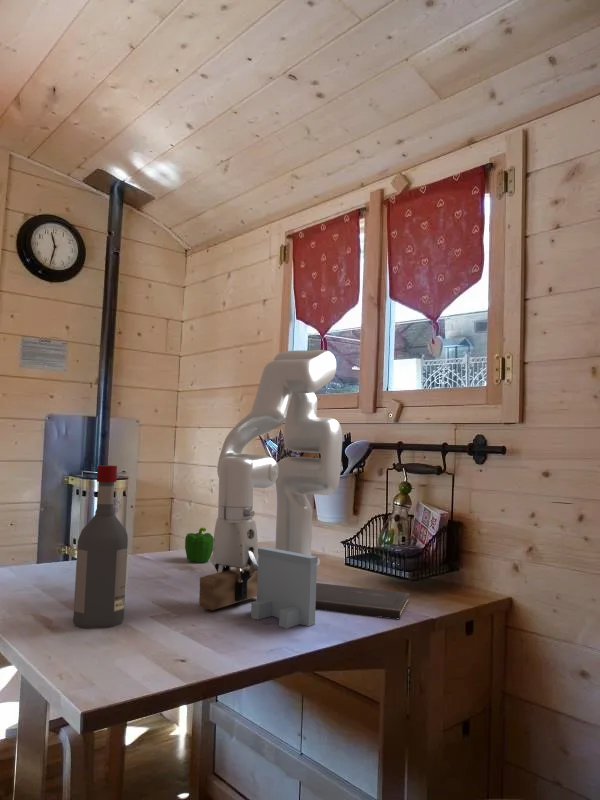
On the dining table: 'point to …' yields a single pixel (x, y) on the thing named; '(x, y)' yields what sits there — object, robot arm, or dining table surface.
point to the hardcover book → (360, 600)
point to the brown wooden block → (223, 589)
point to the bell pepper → (199, 546)
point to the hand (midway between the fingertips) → (233, 596)
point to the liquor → (101, 561)
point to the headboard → (286, 587)
